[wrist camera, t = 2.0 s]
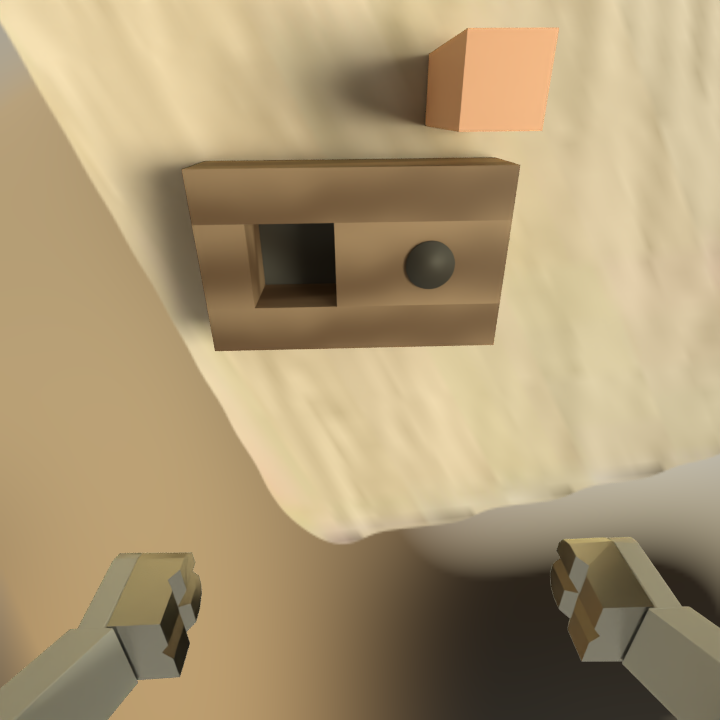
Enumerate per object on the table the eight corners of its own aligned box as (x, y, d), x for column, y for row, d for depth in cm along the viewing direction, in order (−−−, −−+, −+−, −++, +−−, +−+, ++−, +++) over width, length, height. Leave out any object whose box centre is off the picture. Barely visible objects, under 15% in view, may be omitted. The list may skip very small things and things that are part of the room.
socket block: (204, 161, 31) (180, 169, 26) (495, 157, 31) (521, 165, 27) (230, 322, 37) (214, 352, 32) (475, 317, 37) (494, 345, 33)
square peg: (429, 54, 28) (467, 27, 20) (492, 53, 28) (559, 27, 20) (425, 125, 30) (458, 131, 21) (484, 125, 30) (542, 130, 22)
